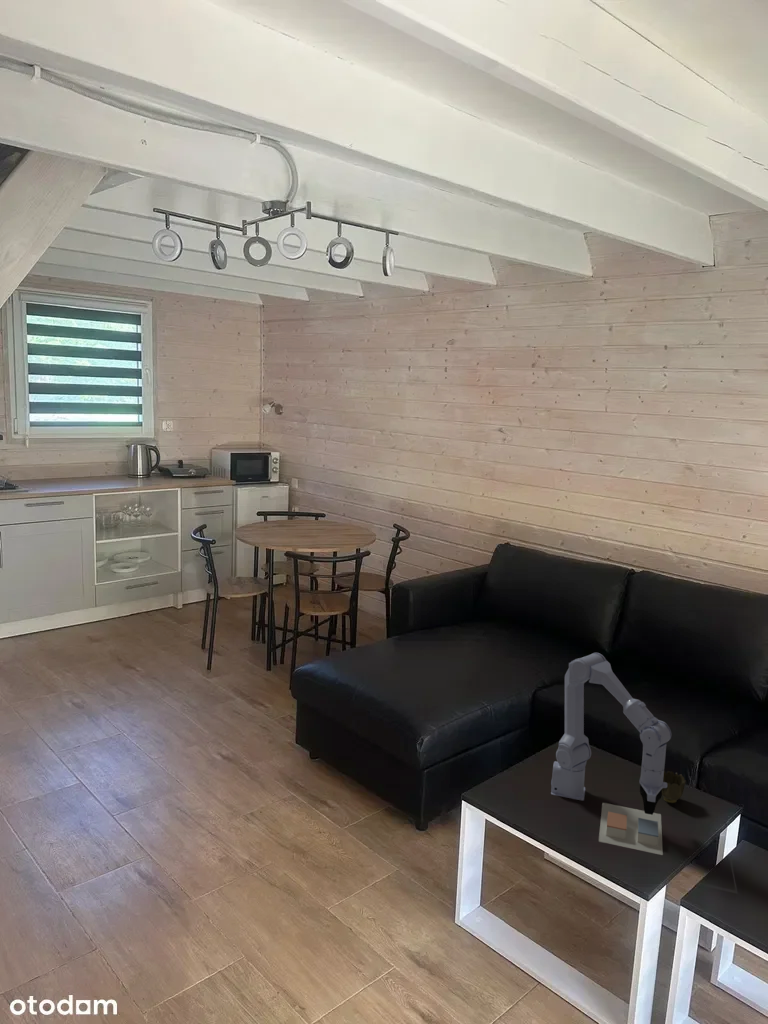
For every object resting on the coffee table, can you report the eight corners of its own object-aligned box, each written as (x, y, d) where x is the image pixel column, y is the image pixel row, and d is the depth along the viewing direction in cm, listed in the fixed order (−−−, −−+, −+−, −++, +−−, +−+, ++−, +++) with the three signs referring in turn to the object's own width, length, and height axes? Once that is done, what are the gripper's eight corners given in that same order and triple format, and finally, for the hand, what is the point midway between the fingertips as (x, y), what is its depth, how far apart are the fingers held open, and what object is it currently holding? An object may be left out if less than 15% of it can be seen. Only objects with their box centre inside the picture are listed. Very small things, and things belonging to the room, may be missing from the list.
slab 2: (637, 827, 199) (637, 842, 192) (638, 817, 198) (638, 831, 192) (656, 831, 197) (657, 846, 191) (657, 821, 197) (658, 835, 190)
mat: (598, 843, 192) (598, 841, 192) (602, 804, 211) (602, 802, 211) (662, 857, 187) (662, 855, 187) (660, 816, 206) (660, 814, 206)
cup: (685, 810, 209) (688, 784, 208) (658, 807, 210) (661, 781, 209) (680, 796, 216) (683, 772, 215) (654, 793, 218) (657, 768, 216)
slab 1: (607, 821, 201) (606, 835, 195) (608, 811, 201) (606, 825, 194) (626, 825, 200) (625, 839, 193) (626, 815, 199) (626, 829, 193)
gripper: (669, 782, 187) (665, 830, 189) (667, 756, 200) (663, 802, 202) (640, 777, 189) (636, 824, 191) (641, 752, 202) (637, 796, 205)
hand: (648, 812), depth 197 cm, fingers closed
